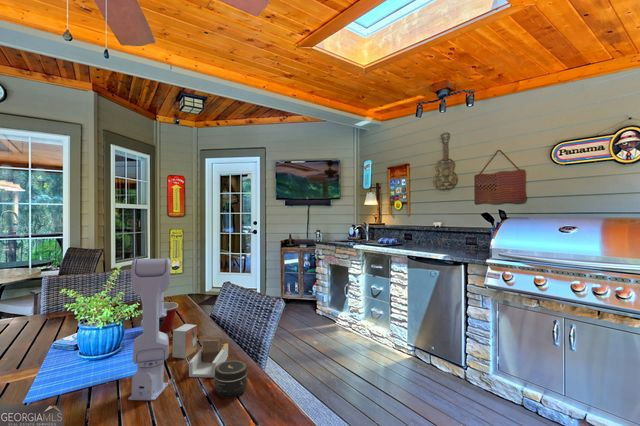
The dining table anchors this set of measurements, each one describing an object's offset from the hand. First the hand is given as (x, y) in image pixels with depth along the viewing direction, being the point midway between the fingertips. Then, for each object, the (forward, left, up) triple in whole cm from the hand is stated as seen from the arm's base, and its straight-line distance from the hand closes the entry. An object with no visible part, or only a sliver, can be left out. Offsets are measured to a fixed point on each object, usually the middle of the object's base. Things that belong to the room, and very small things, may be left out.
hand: (153, 339), depth 117 cm
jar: (-13, -31, -11) cm, 35 cm away
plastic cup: (+38, +13, -11) cm, 41 cm away
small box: (+13, -6, -11) cm, 18 cm away
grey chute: (+3, -19, -10) cm, 22 cm away
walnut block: (+6, -19, -9) cm, 22 cm away
